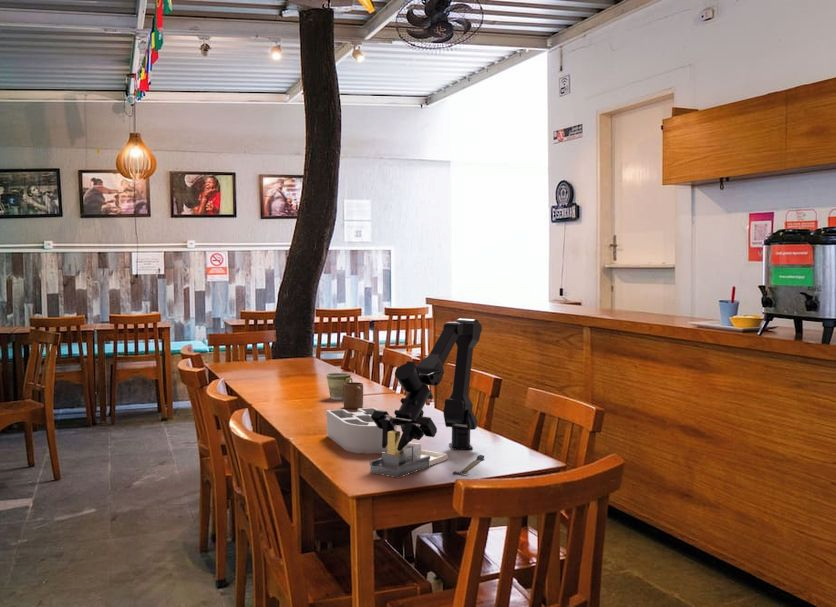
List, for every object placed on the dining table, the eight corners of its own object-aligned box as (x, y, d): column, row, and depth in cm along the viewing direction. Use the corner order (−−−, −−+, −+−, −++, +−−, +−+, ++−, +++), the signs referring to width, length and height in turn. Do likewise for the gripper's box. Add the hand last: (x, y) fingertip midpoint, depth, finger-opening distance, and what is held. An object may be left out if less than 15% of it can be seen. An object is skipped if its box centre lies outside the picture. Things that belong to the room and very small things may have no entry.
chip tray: (421, 454, 232) (421, 449, 232) (447, 459, 227) (447, 454, 227) (402, 461, 224) (402, 456, 223) (429, 466, 219) (429, 461, 219)
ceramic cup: (321, 398, 326) (321, 374, 325) (338, 395, 333) (338, 372, 333) (343, 402, 317) (343, 377, 317) (360, 399, 325) (360, 375, 324)
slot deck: (401, 461, 224) (401, 450, 223) (429, 466, 218) (430, 455, 218) (369, 472, 211) (369, 461, 211) (399, 478, 206) (399, 467, 206)
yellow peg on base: (388, 462, 215) (388, 429, 214) (405, 465, 212) (405, 432, 211) (381, 464, 212) (382, 431, 212) (398, 467, 209) (399, 434, 209)
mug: (369, 410, 300) (369, 386, 299) (350, 411, 297) (350, 387, 296) (359, 405, 311) (359, 381, 310) (340, 406, 308) (341, 382, 308)
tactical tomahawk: (475, 481, 208) (475, 477, 208) (451, 476, 211) (452, 472, 211) (499, 462, 227) (499, 458, 227) (477, 457, 230) (478, 453, 230)
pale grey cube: (399, 459, 218) (400, 445, 218) (411, 461, 216) (412, 447, 216) (391, 462, 215) (391, 447, 214) (403, 464, 212) (403, 449, 212)
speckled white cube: (408, 456, 222) (409, 442, 221) (420, 458, 219) (421, 444, 219) (400, 459, 218) (401, 444, 218) (412, 461, 216) (413, 446, 216)
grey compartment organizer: (374, 433, 261) (374, 407, 261) (404, 452, 235) (405, 424, 235) (325, 436, 255) (326, 410, 255) (351, 456, 229) (351, 427, 229)
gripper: (453, 423, 219) (431, 471, 210) (397, 415, 229) (374, 460, 221) (438, 399, 212) (415, 447, 203) (382, 391, 222) (358, 437, 214)
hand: (390, 448), depth 210 cm, fingers open, 5 cm apart
